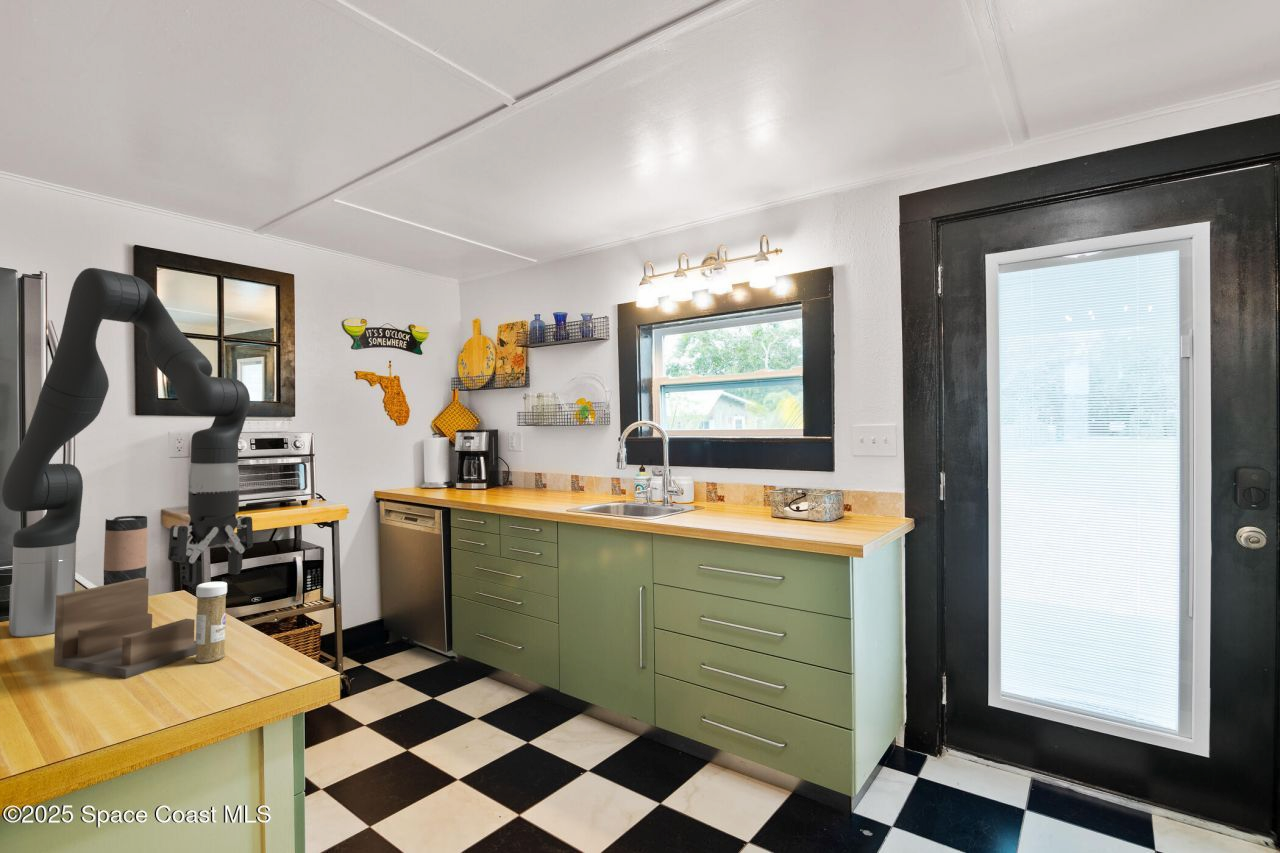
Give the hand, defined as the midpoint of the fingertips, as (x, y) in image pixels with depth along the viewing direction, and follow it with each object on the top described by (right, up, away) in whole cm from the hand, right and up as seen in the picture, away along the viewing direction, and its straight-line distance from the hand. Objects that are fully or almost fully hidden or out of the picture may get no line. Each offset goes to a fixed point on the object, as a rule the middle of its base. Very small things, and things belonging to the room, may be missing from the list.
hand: (212, 579), depth 112 cm
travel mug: (-42, -14, +32) cm, 55 cm away
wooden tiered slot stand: (-13, -14, 0) cm, 19 cm away
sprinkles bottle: (0, -15, 0) cm, 15 cm away
